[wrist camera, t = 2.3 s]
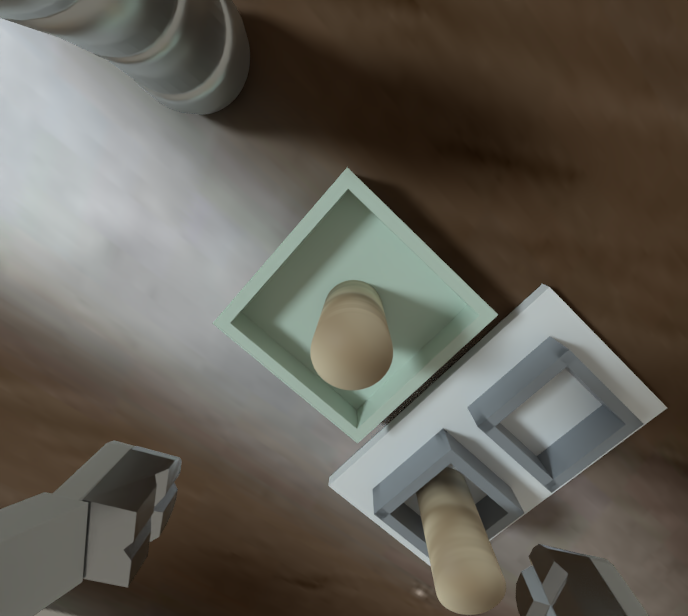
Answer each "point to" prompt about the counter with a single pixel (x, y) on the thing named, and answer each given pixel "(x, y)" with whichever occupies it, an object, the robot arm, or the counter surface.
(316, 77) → the counter surface
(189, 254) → the counter surface
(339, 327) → the cylinder
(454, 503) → the cylinder
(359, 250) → the tote
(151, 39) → the plastic bottle
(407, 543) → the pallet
